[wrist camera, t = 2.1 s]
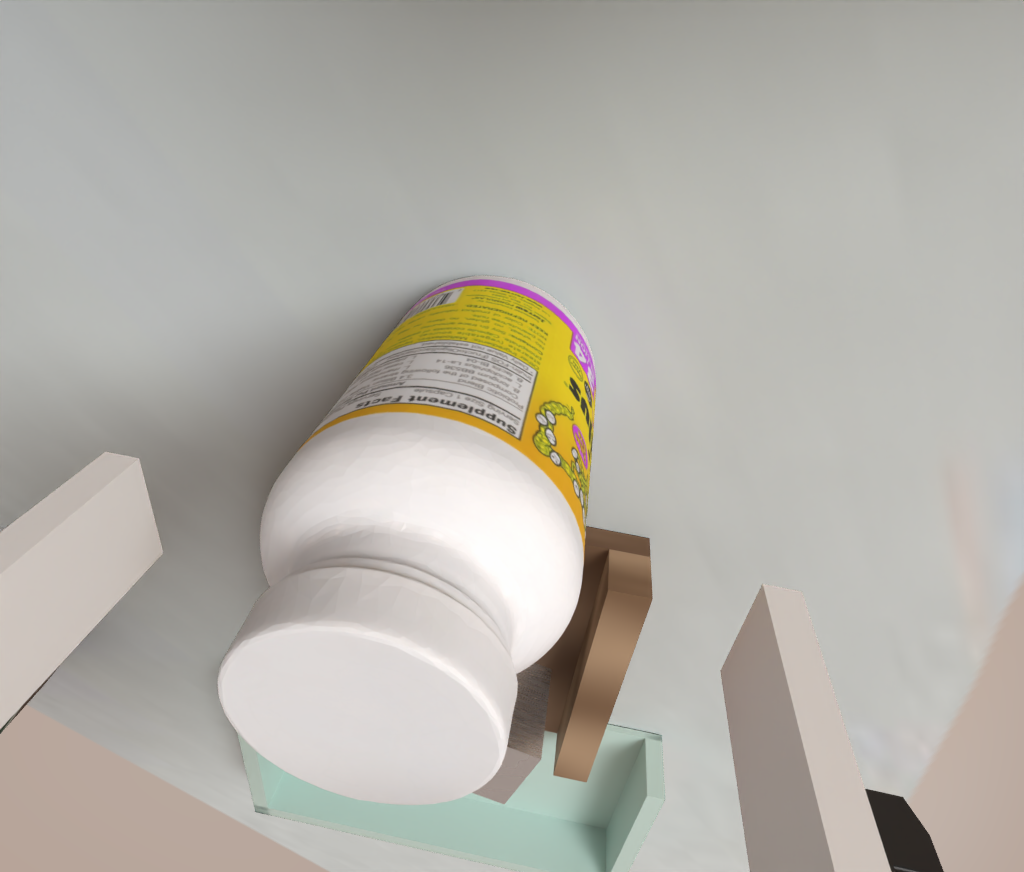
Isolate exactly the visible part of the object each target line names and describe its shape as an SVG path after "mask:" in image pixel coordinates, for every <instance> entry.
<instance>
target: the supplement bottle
mask: <svg viewBox="0 0 1024 872" xmlns="http://www.w3.org/2000/svg"><path fill="white" fill-rule="evenodd" d="M595 397H596V372H595V363H594V357H593V354H592V350H591V348H590V345H589V342H588V340H587V338H586V336H585V333H584V332H583V330H582V328H581V327H580V325H579V324H578V322H577V321H576V319H575V318H574V317H573V316H572V315H571V313H570V312H569V311H568V310H567V309H566V308H565V307H564V306H563V305H562V304H561V303H560V302H558V301H557V300H556V299H555V298H553V297H552V296H551V295H549V294H547V293H546V292H544V291H543V290H541V289H539V288H537V287H535V286H533V285H531V284H529V283H526V282H523V281H520V280H517V279H513V278H507V277H499V276H472V277H466V278H461V279H457V280H454V281H451V282H448V283H445V284H443V285H441V286H439V287H437V288H436V289H434V290H432V291H431V292H429V293H428V294H426V295H425V296H424V297H422V298H421V299H420V300H419V301H418V302H417V303H416V304H415V305H414V306H413V307H412V308H411V309H410V310H409V311H408V312H407V314H406V315H405V316H404V317H403V318H402V319H401V321H400V322H399V323H398V325H397V326H396V327H395V329H394V330H393V331H392V332H391V334H390V335H389V336H388V337H387V338H386V340H385V341H384V342H383V343H382V345H381V346H380V347H379V349H378V350H377V351H376V353H375V354H374V355H373V357H372V358H371V359H370V360H369V362H368V363H367V364H366V365H365V367H364V368H363V369H362V371H361V372H360V373H359V375H358V376H357V377H356V378H355V380H354V381H353V382H352V384H351V385H350V386H349V387H348V389H347V390H346V391H345V393H344V394H343V395H342V397H341V398H340V399H339V400H338V402H337V403H336V404H335V405H334V407H333V408H332V409H331V410H330V412H329V413H328V414H327V415H326V417H325V418H324V419H323V420H322V422H321V423H320V424H319V425H318V426H317V428H316V429H315V430H314V432H313V433H312V434H311V435H310V436H309V438H308V439H307V440H306V442H305V443H304V444H303V445H302V446H301V447H300V448H299V450H298V451H297V453H296V454H295V455H294V457H293V458H292V459H291V461H290V462H289V463H288V464H287V466H286V467H285V468H284V470H283V471H282V472H281V474H280V475H279V477H278V478H277V480H276V482H275V483H274V485H273V487H272V489H271V491H270V494H269V496H268V499H267V501H266V504H265V506H264V511H263V515H262V519H261V526H260V552H261V560H262V565H263V569H264V573H265V576H266V579H267V582H268V584H269V587H270V588H269V589H267V590H266V591H265V592H264V593H263V594H262V595H261V596H260V597H259V599H258V600H257V601H256V602H255V604H254V606H253V607H252V609H251V611H250V613H249V615H248V617H247V619H246V620H245V622H244V624H243V626H242V627H241V629H240V631H239V632H238V634H237V636H236V637H235V639H234V641H233V642H232V644H231V646H230V647H229V649H228V651H227V652H226V654H225V656H224V659H223V661H222V663H221V666H220V669H219V671H218V683H217V688H218V695H219V699H220V703H221V705H222V708H223V710H224V713H225V715H226V716H227V718H228V720H229V721H230V723H231V724H232V725H233V727H234V728H235V729H236V731H237V732H238V734H239V735H240V736H241V737H242V738H243V739H244V740H245V741H246V742H247V743H248V744H249V745H250V746H251V747H252V748H253V749H254V750H255V751H256V752H258V753H259V754H260V755H262V756H263V757H264V758H266V759H267V760H269V761H270V762H272V763H273V764H275V765H276V766H278V767H279V768H281V769H282V770H284V771H285V772H287V773H289V774H291V775H293V776H295V777H297V778H299V779H301V780H303V781H306V782H308V783H310V784H312V785H315V786H317V787H319V788H321V789H324V790H327V791H330V792H333V793H336V794H339V795H342V796H346V797H349V798H353V799H357V800H364V801H371V802H377V803H385V804H396V805H426V804H437V803H441V802H448V801H452V800H455V799H459V798H461V797H464V796H466V795H468V794H470V793H472V792H474V791H476V790H478V789H479V788H481V787H482V786H483V785H485V784H486V783H487V782H488V781H490V780H491V779H492V778H493V776H494V775H495V774H496V773H497V771H498V770H499V768H500V767H501V765H502V762H503V760H504V757H505V753H506V749H507V745H508V739H509V733H510V728H511V722H512V716H513V711H514V706H515V702H516V697H517V687H518V682H517V676H516V674H518V673H520V672H521V671H523V670H525V669H526V668H528V667H529V666H531V665H532V664H534V663H535V662H536V661H538V660H539V659H540V658H541V657H542V656H544V655H545V654H546V653H547V652H548V651H549V650H550V649H551V648H552V647H553V645H554V644H555V643H556V642H557V641H558V640H559V638H560V637H561V635H562V634H563V633H564V631H565V629H566V628H567V626H568V624H569V622H570V621H571V618H572V616H573V613H574V611H575V609H576V606H577V603H578V599H579V595H580V590H581V584H582V575H583V566H584V551H585V537H586V519H587V509H588V494H589V481H590V467H591V456H592V440H593V426H594V412H595Z"/></svg>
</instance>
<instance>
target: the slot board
mask: <svg viewBox="0 0 1024 872" xmlns="http://www.w3.org/2000/svg"><path fill="white" fill-rule="evenodd" d="M651 602H652V580H651V561H650V542H649V538H644V537H639V536H634V535H628V534H623V533H618V532H613V531H608V530H602V529H597V528H592V527H587V526H586V537H585V551H584V566H583V575H582V584H581V590H580V595H579V599H578V603H577V606H576V609H575V611H574V613H573V616H572V618H571V621H570V622H569V624H568V626H567V628H566V629H565V631H564V633H563V634H562V635H561V637H560V638H559V640H558V641H557V642H556V643H555V644H554V645H553V647H552V648H551V649H550V650H549V651H548V652H547V653H546V654H545V655H544V656H542V657H541V658H540V659H539V660H538V661H536V662H535V663H536V664H539V665H542V666H544V667H547V668H549V669H551V678H550V687H549V696H548V705H547V713H546V722H545V731H549V732H554V733H557V740H556V751H555V761H554V772H553V775H554V776H558V777H563V778H568V779H572V780H577V781H582V782H586V783H587V780H588V777H589V774H590V772H591V769H592V766H593V763H594V760H595V758H596V755H597V752H598V749H599V746H600V744H601V741H602V738H603V735H604V733H605V730H606V727H607V724H608V721H609V719H610V716H611V713H612V710H613V707H614V705H615V702H616V699H617V696H618V694H619V691H620V688H621V685H622V682H623V680H624V677H625V674H626V671H627V668H628V666H629V663H630V660H631V657H632V654H633V652H634V649H635V646H636V643H637V641H638V638H639V635H640V632H641V629H642V627H643V624H644V621H645V618H646V615H647V613H648V610H649V607H650V604H651Z"/></svg>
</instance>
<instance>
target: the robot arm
mask: <svg viewBox="0 0 1024 872" xmlns="http://www.w3.org/2000/svg"><path fill="white" fill-rule="evenodd" d="M162 554H163V550H162V546H161V542H160V538H159V534H158V530H157V526H156V522H155V518H154V514H153V511H152V507H151V503H150V499H149V495H148V491H147V487H146V483H145V479H144V475H143V471H142V467H141V464H140V460H139V458H135V457H130V456H125V455H120V454H115V453H110V452H104V453H103V454H102V455H100V456H99V457H98V458H96V459H95V460H94V461H92V462H91V463H90V464H89V465H87V466H86V467H85V468H83V469H82V470H81V471H79V472H78V473H77V474H76V475H74V476H73V477H72V478H70V479H69V480H68V481H66V482H65V483H64V484H62V485H61V486H60V487H59V488H57V489H56V490H55V491H53V492H52V493H51V494H49V495H48V496H47V497H46V498H44V499H43V500H42V501H40V502H39V503H38V504H36V505H35V506H34V507H33V508H31V509H30V510H29V511H27V512H26V513H25V514H23V515H22V516H21V517H19V518H18V519H17V520H16V521H14V522H13V523H12V524H10V525H9V526H8V527H6V528H5V529H4V530H3V531H1V532H0V729H1V728H2V727H3V726H4V725H5V724H6V723H7V721H8V720H9V719H10V718H11V717H12V716H13V715H14V714H15V713H16V712H17V711H18V710H19V709H20V707H21V706H22V705H23V704H24V703H25V702H26V701H27V700H28V699H29V698H30V697H31V696H32V694H33V693H34V692H35V691H36V690H37V689H38V688H39V687H40V686H41V685H42V684H43V683H44V681H45V680H46V679H47V678H48V677H49V676H50V675H51V674H52V673H53V672H54V671H55V670H56V669H57V667H58V666H59V665H60V664H61V663H62V662H63V661H64V660H65V659H66V658H67V657H68V656H69V654H70V653H71V652H72V651H73V650H74V649H75V648H76V647H77V646H78V645H79V644H80V643H81V641H82V640H83V639H84V638H85V637H86V636H87V635H88V634H89V633H90V632H91V631H92V630H93V629H94V627H95V626H96V625H97V624H98V623H99V622H100V621H101V620H102V619H103V618H104V617H105V616H106V614H107V613H108V612H109V611H110V610H111V609H112V608H113V607H114V606H115V605H116V604H117V603H118V602H119V600H120V599H121V598H122V597H123V596H124V595H125V594H126V593H127V592H128V591H129V590H130V589H131V587H132V586H133V585H134V584H135V583H136V582H137V581H138V580H139V579H140V578H141V577H142V576H143V574H144V573H145V572H146V571H147V570H148V569H149V568H150V567H151V566H152V565H153V564H154V563H155V562H156V560H157V559H158V558H159V557H160V556H161V555H162ZM721 678H722V685H723V691H724V698H725V705H726V712H727V719H728V725H729V732H730V739H731V746H732V753H733V759H734V766H735V773H736V780H737V787H738V793H739V800H740V807H741V814H742V821H743V827H744V834H745V841H746V848H747V855H748V861H749V868H750V872H944V871H943V869H942V866H941V864H940V861H939V858H938V856H937V853H936V850H935V848H934V845H933V843H932V840H931V837H930V835H929V834H928V832H927V831H926V830H925V828H924V827H923V825H922V824H921V822H920V821H919V820H918V818H917V817H916V815H915V814H914V812H913V811H912V810H911V808H910V807H909V805H908V804H907V803H906V801H905V800H904V798H903V797H900V796H895V795H891V794H886V793H882V792H877V791H873V790H868V789H865V788H864V784H863V781H862V778H861V775H860V772H859V769H858V766H857V762H856V759H855V756H854V753H853V750H852V747H851V744H850V741H849V737H848V734H847V731H846V728H845V725H844V722H843V719H842V715H841V712H840V709H839V706H838V703H837V700H836V697H835V693H834V690H833V687H832V684H831V681H830V678H829V675H828V672H827V668H826V665H825V662H824V659H823V656H822V653H821V650H820V646H819V643H818V640H817V637H816V634H815V631H814V628H813V625H812V621H811V618H810V615H809V612H808V609H807V606H806V603H805V599H804V596H803V593H802V592H801V591H796V590H791V589H786V588H781V587H776V586H771V585H767V584H762V586H761V588H760V590H759V592H758V595H757V597H756V599H755V601H754V603H753V605H752V607H751V609H750V611H749V613H748V615H747V617H746V619H745V621H744V624H743V626H742V628H741V630H740V632H739V634H738V636H737V638H736V640H735V642H734V644H733V646H732V648H731V650H730V652H729V655H728V657H727V659H726V661H725V663H724V665H723V667H722V669H721Z"/></svg>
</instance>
